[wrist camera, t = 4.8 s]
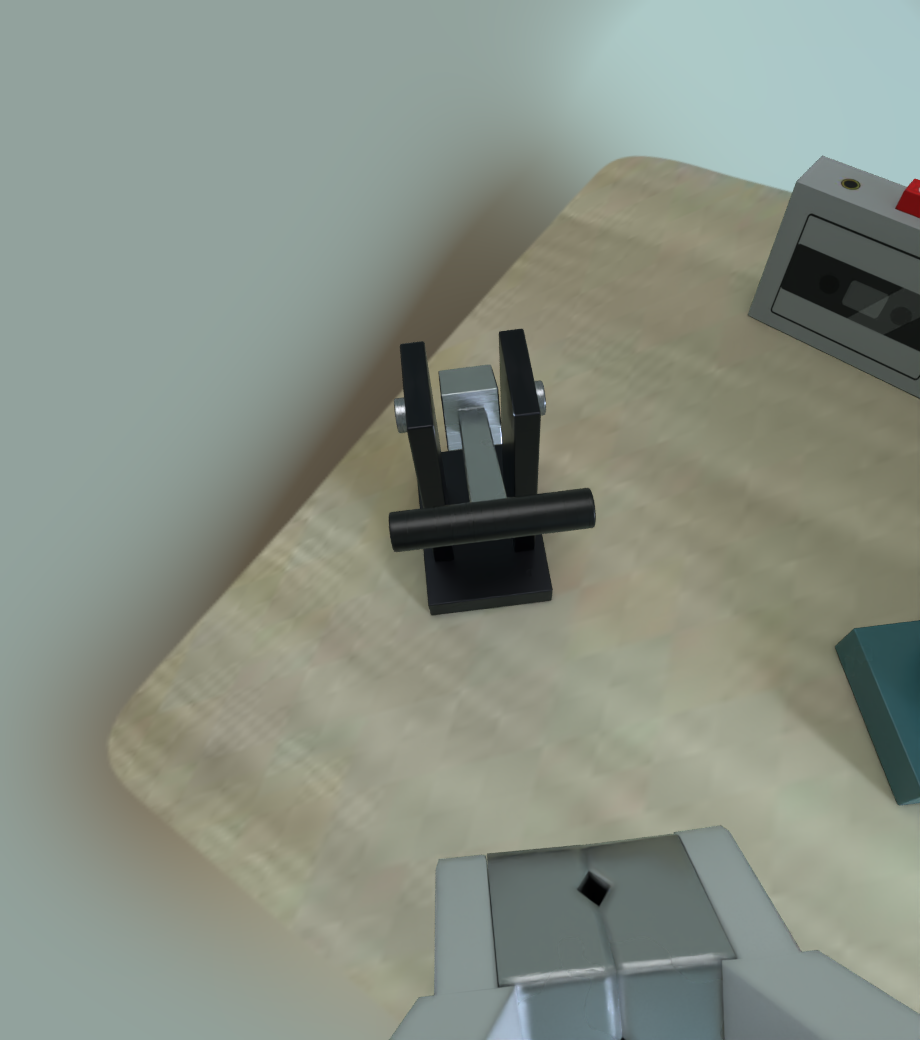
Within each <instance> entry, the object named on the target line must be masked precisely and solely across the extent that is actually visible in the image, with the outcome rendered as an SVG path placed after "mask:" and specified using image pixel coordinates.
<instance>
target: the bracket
mask: <svg viewBox="0 0 920 1040" xmlns="http://www.w3.org/2000/svg"><path fill="white" fill-rule="evenodd" d="M400 354H401V365H402V378H403V390H404V398H396V399H394V408H395V417H396V423H397V428H398V432H399V433H405V432H407V433H408V438H409V442H410V447H411V452H412V457H413V461H414V466H415V471H416V476H417V482H418V493H419V504H420V509H421V508H429V507H437V506H445V505H454V504H462V503H470V499H469V492H468V486H467V479H466V472H465V465H464V458H463V451H462V450H454V451H446V452H441V448H440V441H439V435H438V428H437V422H436V415H435V408H434V402H433V395H432V389H431V382H430V375H429V369H428V362H427V356H426V349H425V343H424V342H423V341H422V342H413V343H405V344H401V345H400ZM499 356H500V391H501V426H502V440H503V443H502V445H494V446H495V450H496V454H497V458H498V462H499V467H500V471H501V475H502V479H503V483H504V488H505V492H506V496H507V498H510V497H518V496H526V495H534V494H537V486H538V465H539V443H540V421H541V416H542V415H545V413H546V398H545V390H544V386H543V383H542V381H534V377H533V372H532V368H531V363H530V358H529V353H528V348H527V344H526V339H525V334H524V330H523V329H515V330H507V331H500V332H499ZM423 550H424V561H425V573H426V584H427V595H428V606H429V610H430V613H431V615H438V614H446V613H454V612H462V611H470V610H478V609H486V608H494V607H502V606H511V605H519V604H527V603H535V602H543V601H551V600H552V585H551V579H550V574H549V569H548V563H547V558H546V553H545V548H544V542H543V537H542V534H539V535H531V536H523V537H515V538H507V539H499V540H490V541H482V542H474V543H466V544H458V545H450V546H442V547H434V548H426V549H423Z"/></svg>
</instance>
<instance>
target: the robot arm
mask: <svg viewBox="0 0 920 1040" xmlns="http://www.w3.org/2000/svg"><path fill="white" fill-rule="evenodd" d="M487 861H488V865H487ZM389 1040H920V1014H918V1013H917V1012H915V1011H914V1010H912V1009H910V1008H909V1007H907V1006H906V1005H904V1004H903V1003H901V1002H899V1001H898V1000H896V999H895V998H893V997H891V996H890V995H888V994H887V993H885V992H884V991H882V990H880V989H879V988H877V987H876V986H874V985H872V984H871V983H869V982H868V981H866V980H865V979H863V978H861V977H860V976H858V975H857V974H855V973H853V972H852V971H850V970H849V969H847V968H846V967H844V966H842V965H841V964H839V963H838V962H836V961H834V960H833V959H831V958H830V957H828V956H826V955H825V954H823V953H822V952H820V951H819V950H814V951H805V952H802V951H801V950H800V948H799V946H798V945H797V943H796V941H795V940H794V938H793V937H792V935H791V933H790V932H789V930H788V928H787V927H786V925H785V923H784V922H783V920H782V918H781V917H780V915H779V913H778V912H777V910H776V908H775V907H774V905H773V903H772V902H771V900H770V898H769V897H768V895H767V893H766V892H765V890H764V888H763V887H762V885H761V883H760V882H759V880H758V878H757V877H756V875H755V873H754V872H753V870H752V868H751V867H750V865H749V863H748V862H747V860H746V858H745V857H744V855H743V853H742V852H741V850H740V848H739V847H738V845H737V843H736V842H735V840H734V838H733V837H732V835H731V833H730V832H729V830H727V829H726V828H724V827H723V826H721V825H720V826H713V827H706V828H699V829H692V830H685V831H678V832H674V834H666V835H658V836H650V837H642V838H634V839H626V840H618V841H610V842H602V843H594V844H586V845H573V846H563V847H552V848H542V849H531V850H520V851H510V852H499V853H489V854H487V859H486V856H485V855H475V856H465V857H455V858H446V859H439V860H438V864H437V867H436V891H435V980H434V995H433V996H425V997H419V998H418V999H417V1000H416V1002H415V1003H414V1005H413V1006H412V1008H411V1009H410V1010H409V1012H408V1013H407V1015H406V1016H405V1018H404V1019H403V1020H402V1022H401V1023H400V1025H399V1026H398V1028H397V1029H396V1031H395V1032H394V1033H393V1035H392V1037H391V1038H390V1039H389Z"/></svg>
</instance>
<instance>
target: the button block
mask: <svg viewBox="0 0 920 1040" xmlns="http://www.w3.org/2000/svg"><path fill="white" fill-rule="evenodd" d="M835 648H836V650H837V653H838V655H839V658H840V661H841V663H842V666H843V668H844V671H845V673H846V676H847V678H848V681H849V683H850V686H851V688H852V691H853V693H854V696H855V698H856V701H857V703H858V706H859V708H860V711H861V713H862V716H863V718H864V721H865V723H866V726H867V729H868V731H869V734H870V736H871V739H872V741H873V744H874V746H875V749H876V751H877V754H878V756H879V759H880V761H881V764H882V766H883V769H884V771H885V774H886V776H887V779H888V781H889V784H890V786H891V789H892V791H893V794H894V796H895V799H896V802H897V804H898V805H908V804H916V803H920V620H919V621H911V622H902V623H894V624H886V625H878V626H870V627H862V628H854V629H853V630H852V631H851V632H850V633H849V634H848V635H846V636H845V637H844V638H843V639H842V640H841V641H840V642H839V643H838V644H837V645H836V646H835Z"/></svg>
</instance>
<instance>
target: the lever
mask: <svg viewBox="0 0 920 1040" xmlns="http://www.w3.org/2000/svg"><path fill="white" fill-rule="evenodd" d="M439 382H440V392H441V401H442V408H443V416H444V424H445V432H446V439H447V447H448V451H452V450H461V449H462V451H463V458H464V465H465V472H466V479H467V486H468V492H469V499H470V503H462V504H454V505H445V506H437V507H429V508H421V509H413V510H405V511H397V512H391V513H389V530H390V538H391V544H392V548H393V550H394V552H402V551H410V550H418V549H426V548H434V547H442V546H450V545H458V544H466V543H474V542H482V541H490V540H499V539H507V538H515V537H523V536H531V535H539V534H547V533H555V532H563V531H571V530H579V529H587V528H593V527H594V526H595V521H596V513H595V504H594V499H593V495H592V492H591V490H590V489H589V488H582V489H574V490H566V491H558V492H550V493H542V494H534V495H526V496H518V497H510V498H507V496H506V492H505V488H504V483H503V479H502V475H501V471H500V467H499V462H498V458H497V454H496V450H495V446H494V445H501V444H502V443H503V440H502V429H501V417H500V405H499V394H498V387H497V383H496V380H495V377H494V373H493V370H492V367H491V365H482V366H474V367H466V368H458V369H450V370H442V371H439Z"/></svg>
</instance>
